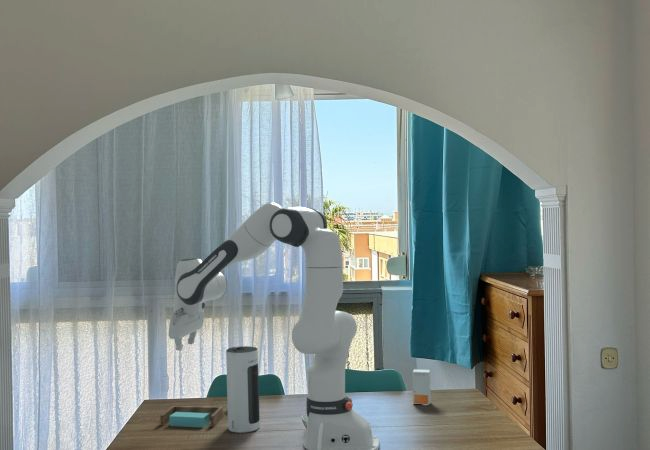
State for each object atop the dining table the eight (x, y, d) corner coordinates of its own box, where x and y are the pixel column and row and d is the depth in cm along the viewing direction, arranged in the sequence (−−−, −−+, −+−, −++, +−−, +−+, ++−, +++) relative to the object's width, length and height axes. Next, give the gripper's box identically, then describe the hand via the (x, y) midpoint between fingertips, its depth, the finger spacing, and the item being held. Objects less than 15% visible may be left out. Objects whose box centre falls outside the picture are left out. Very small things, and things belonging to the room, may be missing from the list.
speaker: (242, 435, 201) (240, 352, 201) (220, 429, 208) (218, 348, 208) (266, 427, 209) (264, 346, 209) (244, 421, 216) (243, 343, 216)
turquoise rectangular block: (209, 423, 215) (209, 413, 215) (203, 428, 210) (203, 417, 210) (176, 422, 218) (175, 411, 218) (169, 426, 213) (169, 416, 213)
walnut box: (223, 416, 221) (222, 406, 221) (213, 427, 211) (213, 416, 210) (172, 416, 224) (172, 405, 224) (160, 426, 213) (160, 415, 213)
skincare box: (412, 405, 231) (411, 371, 231) (414, 401, 236) (413, 368, 236) (429, 406, 230) (428, 372, 230) (431, 402, 234) (430, 369, 234)
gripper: (183, 312, 205) (180, 355, 206) (207, 302, 225) (205, 341, 226) (164, 310, 206) (162, 353, 207) (190, 300, 226) (188, 339, 227)
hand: (185, 346), depth 217 cm, fingers open, 8 cm apart
